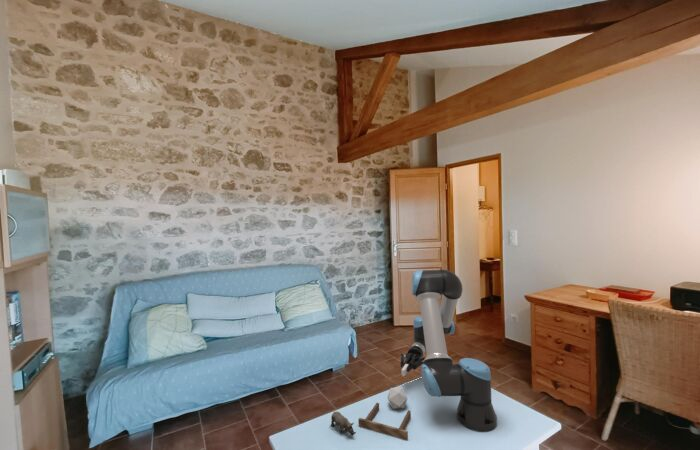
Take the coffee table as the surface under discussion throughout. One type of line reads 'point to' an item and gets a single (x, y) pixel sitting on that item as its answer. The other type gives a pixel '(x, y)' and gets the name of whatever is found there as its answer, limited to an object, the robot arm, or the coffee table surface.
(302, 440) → the coffee table surface
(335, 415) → the rhino figurine
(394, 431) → the frame
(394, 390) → the die
